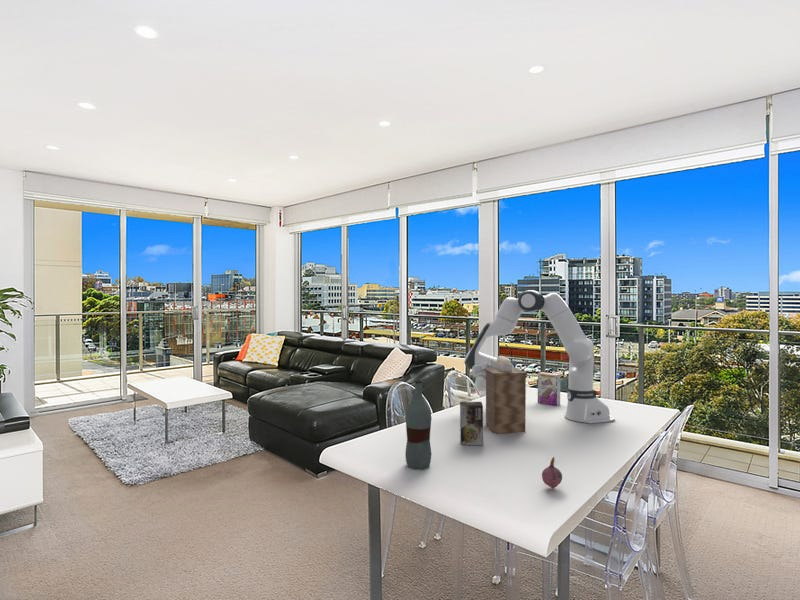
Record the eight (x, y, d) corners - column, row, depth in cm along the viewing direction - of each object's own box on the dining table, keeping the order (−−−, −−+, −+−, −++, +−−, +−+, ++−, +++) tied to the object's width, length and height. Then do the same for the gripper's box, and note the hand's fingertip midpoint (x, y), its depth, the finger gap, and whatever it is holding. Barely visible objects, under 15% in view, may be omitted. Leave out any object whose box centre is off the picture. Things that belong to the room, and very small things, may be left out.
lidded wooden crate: (516, 424, 215) (516, 368, 215) (527, 432, 202) (527, 372, 202) (484, 425, 214) (484, 368, 213) (493, 433, 201) (493, 373, 200)
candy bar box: (537, 402, 258) (537, 373, 258) (541, 401, 262) (541, 371, 262) (556, 405, 251) (557, 375, 250) (560, 404, 254) (560, 374, 254)
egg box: (499, 365, 222) (499, 353, 222) (512, 371, 205) (512, 358, 205) (490, 365, 222) (490, 353, 222) (502, 371, 204) (502, 358, 204)
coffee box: (482, 440, 192) (482, 401, 191) (483, 445, 185) (483, 405, 185) (459, 440, 193) (459, 400, 192) (460, 445, 186) (460, 404, 186)
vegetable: (551, 494, 141) (551, 461, 140) (537, 486, 146) (537, 454, 146) (566, 490, 143) (566, 458, 143) (552, 483, 149) (552, 452, 149)
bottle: (435, 468, 161) (435, 381, 161) (410, 471, 158) (410, 383, 158) (426, 459, 170) (426, 377, 170) (402, 462, 167) (402, 378, 167)
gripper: (468, 369, 232) (474, 358, 220) (508, 368, 234) (516, 357, 222) (469, 381, 229) (476, 371, 217) (510, 380, 231) (519, 370, 219)
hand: (497, 364), depth 219 cm, fingers open, 8 cm apart
